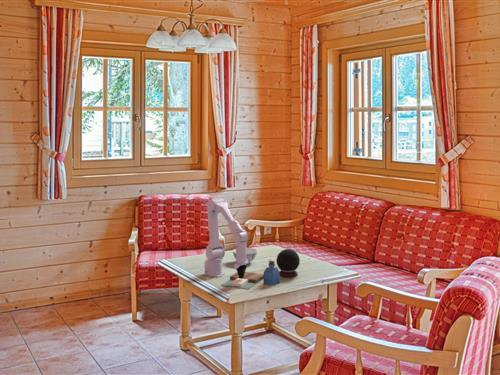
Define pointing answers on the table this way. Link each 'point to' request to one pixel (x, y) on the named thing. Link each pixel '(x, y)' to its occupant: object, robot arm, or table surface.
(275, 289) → the table surface
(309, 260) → the table surface
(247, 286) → the mat
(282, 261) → the black ball on stand
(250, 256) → the chinaware
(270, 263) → the perfume bottle
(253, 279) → the deck
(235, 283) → the tile
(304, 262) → the table surface
